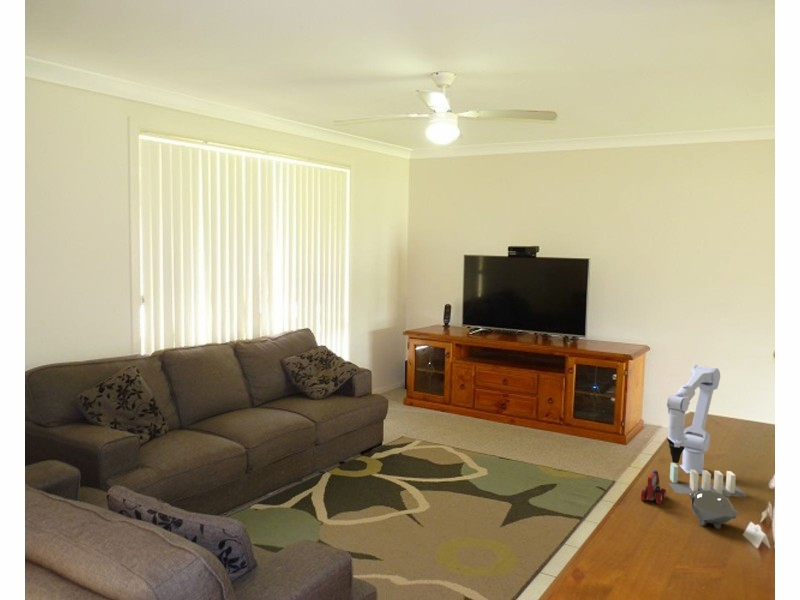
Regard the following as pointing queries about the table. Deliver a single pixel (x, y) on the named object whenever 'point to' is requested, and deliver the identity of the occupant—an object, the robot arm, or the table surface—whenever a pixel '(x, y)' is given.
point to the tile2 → (694, 480)
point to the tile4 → (718, 481)
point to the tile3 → (706, 480)
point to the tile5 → (730, 482)
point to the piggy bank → (712, 507)
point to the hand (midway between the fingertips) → (674, 459)
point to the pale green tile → (674, 473)
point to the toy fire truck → (653, 489)
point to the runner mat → (687, 490)
